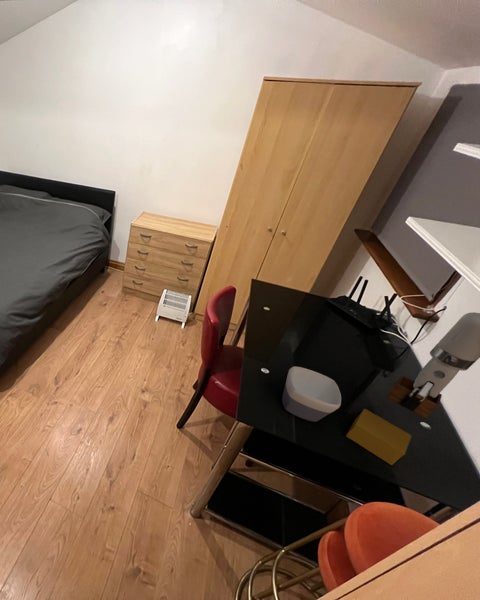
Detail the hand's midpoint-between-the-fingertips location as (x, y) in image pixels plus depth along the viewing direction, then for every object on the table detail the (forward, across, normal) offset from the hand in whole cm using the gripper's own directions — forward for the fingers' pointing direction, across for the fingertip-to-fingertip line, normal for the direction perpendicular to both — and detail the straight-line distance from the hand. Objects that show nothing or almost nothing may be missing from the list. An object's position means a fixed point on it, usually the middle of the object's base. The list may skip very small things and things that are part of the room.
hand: (408, 400), depth 94 cm
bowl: (+18, -8, +20) cm, 28 cm away
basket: (+1, 0, 0) cm, 1 cm away
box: (+18, -3, 0) cm, 18 cm away
